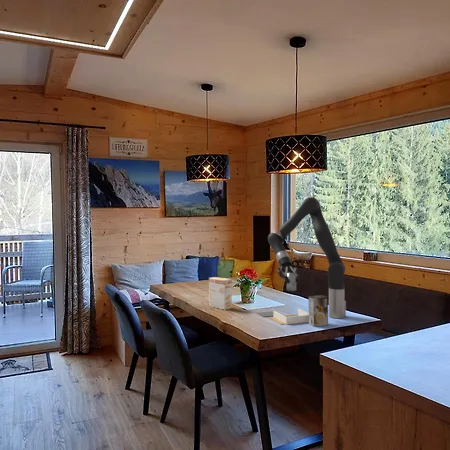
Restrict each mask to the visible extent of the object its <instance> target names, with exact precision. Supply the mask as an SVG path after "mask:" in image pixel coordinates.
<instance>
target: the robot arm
mask: <svg viewBox="0 0 450 450" xmlns="http://www.w3.org/2000/svg"><path fill="white" fill-rule="evenodd" d="M308 215H309V216H310V219H311V221H312V226H313V231H314V235H315V238H316V241H317V242H318V246H319V248H320V249H321V250H322V251H323V252H324V253H323V254H324V255H325V257H326V259H327V262H328V264H329V266H328V269H327V284H328V318H333V319H344V318H346V317H347V301H346V300H345V287H346V286H345V281H344V280H345V279H344V278H345V272H346V266H345V264H344V262H343V260H342V258H341V256H340V254H339V252H338V249H337V247H336V243H335V241H334V237H333V235H332V232H331V230H330V227H329V226H328V223H327V222H326V220H325V218H324V214H323V212H322V207H321V205H320V201H319V200H318V199H317V198H315V197H307V198H305V199H304V200H303V202H302V203H301V205H300V206H299V208H298V209H296V211H295V212H294V213H293V214H292V215H291V216H290V217H289V218H288V219H287V220H286V221H285V222H284V223H283V224H282V225H281V226H280V227H279V228H278V231H279V234H277V233H275V232H271V233H269V234H268V236H267V241H268V244H269V245H270V247H271V248H272V250H273V251H274V252H273V253H274V255H275V257H276V260H277V263H278V267H277V270H276V272H277V274H278V276H279V277H280V279H284V281H285V283H286V285H287V284H288V283H289V279H288V277H287V273H289V272H293V273H296V284H299V281H300V279H299V276H300V270H299V267H298V266H296V267H294V266H293V262H292V261H291V258H290V255H289V254H288V252H287V249H286V247H285V246H284V245H283V244H284V242H285V241H286V239H287V238H288V236H289V235H290V234H291V233H292V232H293V231H294V230H295V229H296V227H298V225H299V224H300V223H301V222H302V221H303V220H304V219H305V218H306V217H307V216H308Z"/></svg>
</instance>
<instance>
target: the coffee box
mask: <svg viewBox="0 0 450 450" xmlns="http://www.w3.org/2000/svg"><path fill="white" fill-rule="evenodd" d="M308 313H309V322H308V325H310V326H312V327H323V326H329V296H326V295H322V294H319V295H308Z"/></svg>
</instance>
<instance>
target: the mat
mask: <svg viewBox="0 0 450 450" xmlns="http://www.w3.org/2000/svg"><path fill="white" fill-rule="evenodd" d="M256 314H257V315H259V316H260V317H262V318H269V317H273V316H274V311H262V312H256Z"/></svg>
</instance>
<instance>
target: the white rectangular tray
mask: <svg viewBox="0 0 450 450" xmlns="http://www.w3.org/2000/svg"><path fill="white" fill-rule="evenodd" d="M273 313H274V316H272V317H268V319H270V320H272V321H274V322H276V323H278V324H280V325H293V324H300V323H302V324H303V323H309V311H308V312H307V311H305V310H303V309H301V308H297V313H293V314H281V313H279V312H277V311H275V310H273Z"/></svg>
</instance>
